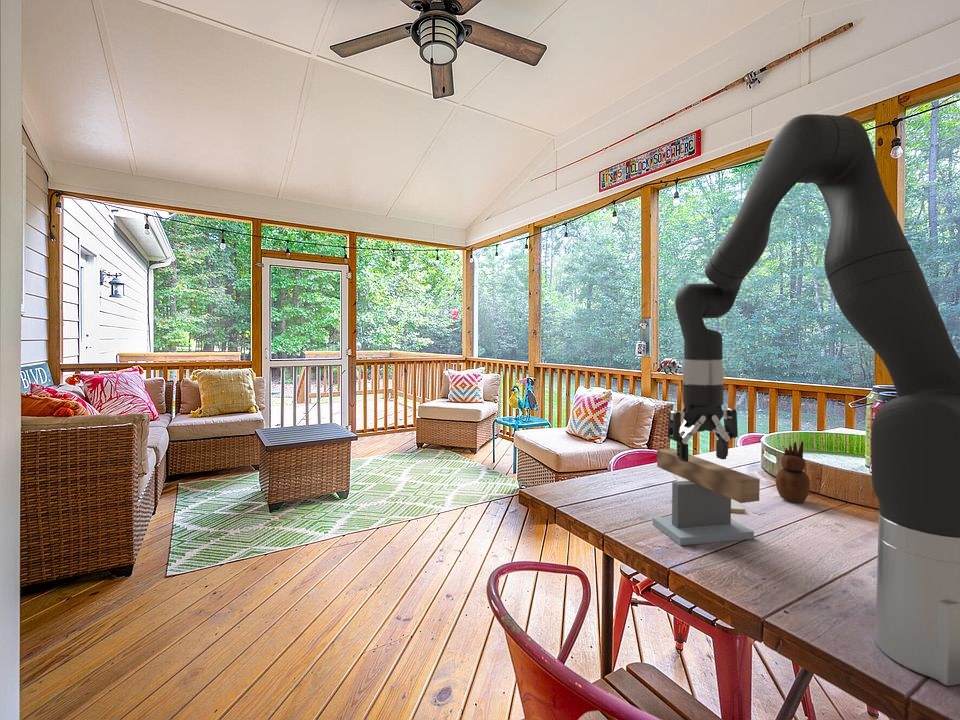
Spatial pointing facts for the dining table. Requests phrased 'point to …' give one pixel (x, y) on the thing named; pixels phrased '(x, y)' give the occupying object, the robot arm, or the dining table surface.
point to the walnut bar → (711, 476)
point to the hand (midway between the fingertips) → (702, 459)
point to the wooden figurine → (793, 476)
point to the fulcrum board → (703, 532)
